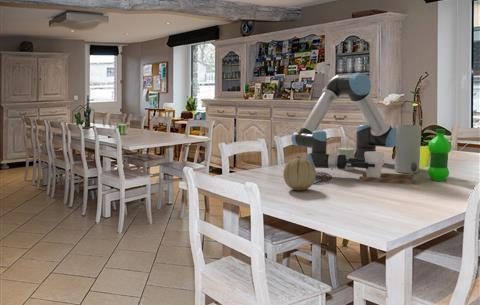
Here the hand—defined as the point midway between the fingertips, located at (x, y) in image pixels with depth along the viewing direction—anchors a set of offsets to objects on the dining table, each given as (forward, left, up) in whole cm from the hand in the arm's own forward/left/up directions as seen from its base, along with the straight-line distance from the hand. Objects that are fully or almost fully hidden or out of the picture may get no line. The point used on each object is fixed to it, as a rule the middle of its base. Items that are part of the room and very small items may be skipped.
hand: (383, 164), depth 224 cm
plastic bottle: (+23, +15, -8) cm, 28 cm away
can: (-27, +18, -8) cm, 34 cm away
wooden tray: (+3, +1, -8) cm, 8 cm away
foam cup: (-4, -1, -8) cm, 9 cm away
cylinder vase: (+4, +28, -8) cm, 29 cm away
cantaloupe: (-22, -44, -8) cm, 50 cm away
